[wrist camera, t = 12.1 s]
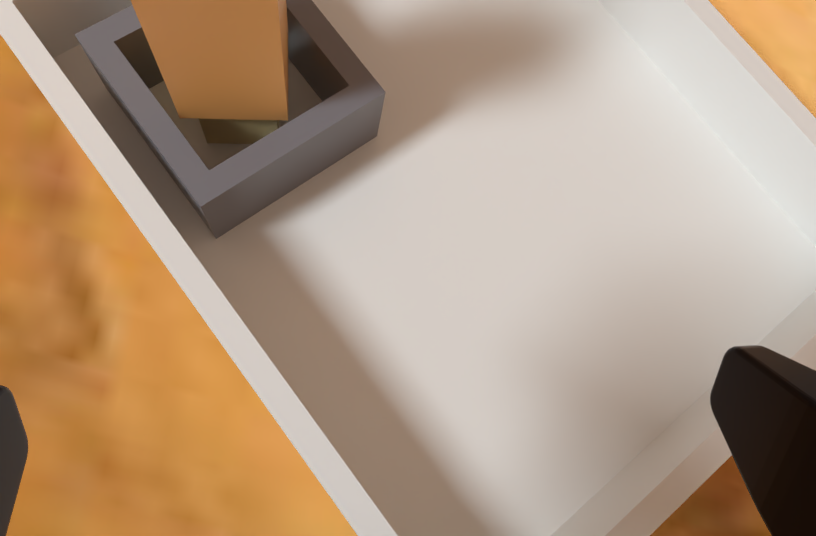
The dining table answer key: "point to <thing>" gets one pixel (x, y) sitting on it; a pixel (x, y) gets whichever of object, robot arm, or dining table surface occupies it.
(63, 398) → the dining table surface
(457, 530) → the walled tray
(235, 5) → the tan square peg
